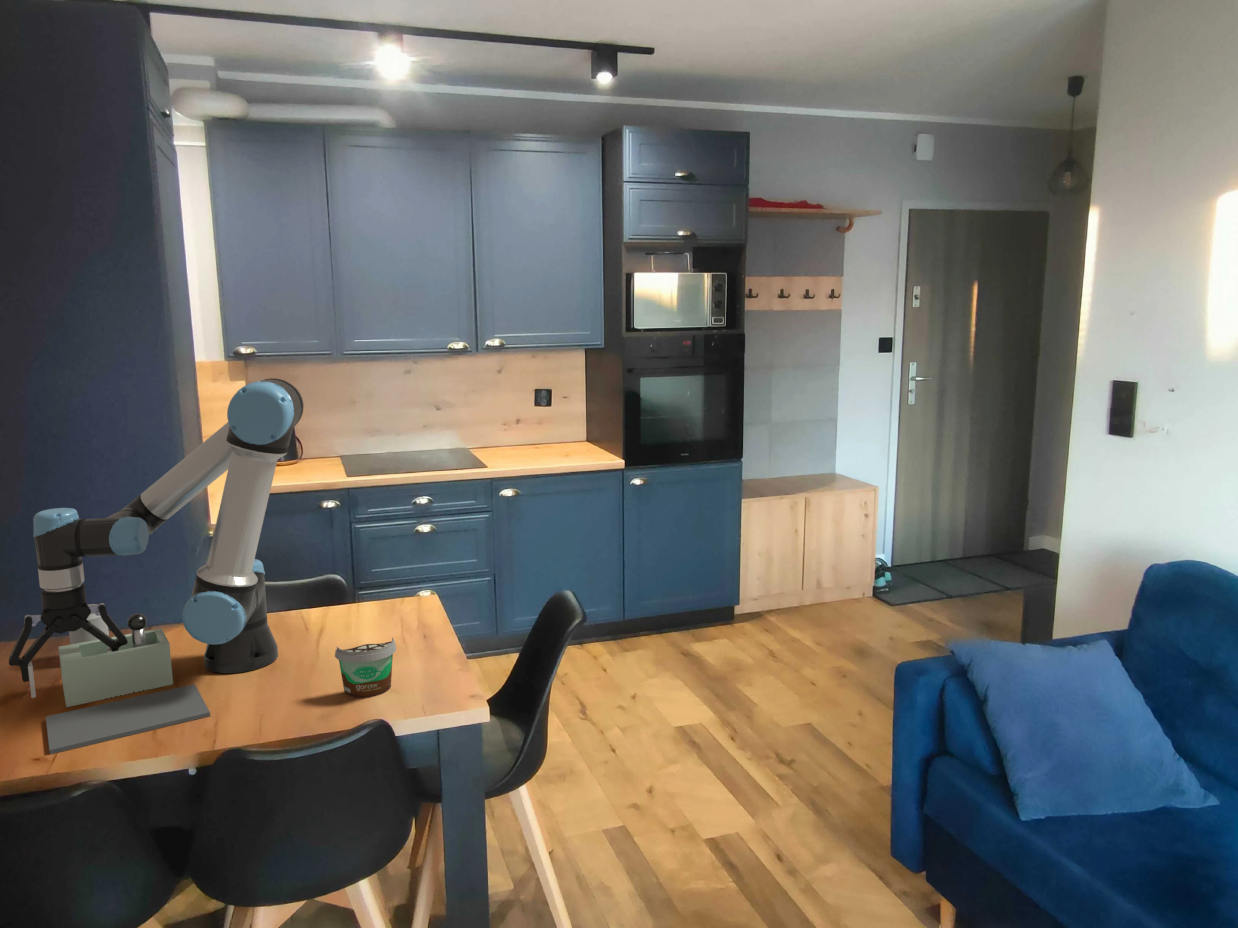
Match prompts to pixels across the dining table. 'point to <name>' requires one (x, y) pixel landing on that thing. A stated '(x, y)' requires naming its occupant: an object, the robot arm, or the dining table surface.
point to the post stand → (137, 629)
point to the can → (85, 636)
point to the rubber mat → (124, 718)
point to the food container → (366, 669)
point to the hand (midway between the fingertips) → (73, 687)
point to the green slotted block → (114, 668)
